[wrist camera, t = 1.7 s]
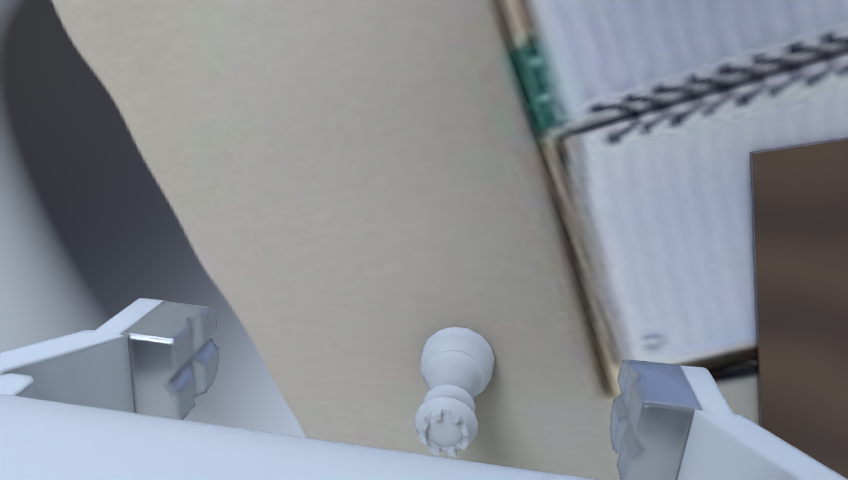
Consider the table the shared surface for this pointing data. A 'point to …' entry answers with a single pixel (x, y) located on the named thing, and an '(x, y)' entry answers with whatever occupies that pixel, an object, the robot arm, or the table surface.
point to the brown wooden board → (803, 296)
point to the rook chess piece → (452, 388)
